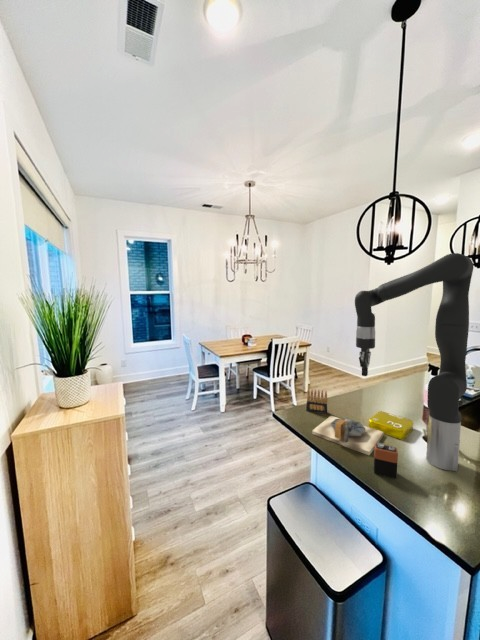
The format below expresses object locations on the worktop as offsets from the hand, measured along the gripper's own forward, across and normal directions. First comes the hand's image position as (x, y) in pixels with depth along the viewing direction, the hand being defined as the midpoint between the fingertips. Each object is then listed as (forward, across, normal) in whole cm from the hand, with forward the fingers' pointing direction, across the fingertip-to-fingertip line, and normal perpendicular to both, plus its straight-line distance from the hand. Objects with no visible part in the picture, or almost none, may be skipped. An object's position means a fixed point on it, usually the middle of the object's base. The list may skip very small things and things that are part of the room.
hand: (364, 375), depth 118 cm
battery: (+26, +25, +12) cm, 38 cm away
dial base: (+26, +6, -5) cm, 27 cm away
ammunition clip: (+26, -9, -25) cm, 37 cm away
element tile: (+27, -11, +10) cm, 30 cm away
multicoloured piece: (+23, +9, -5) cm, 25 cm away
